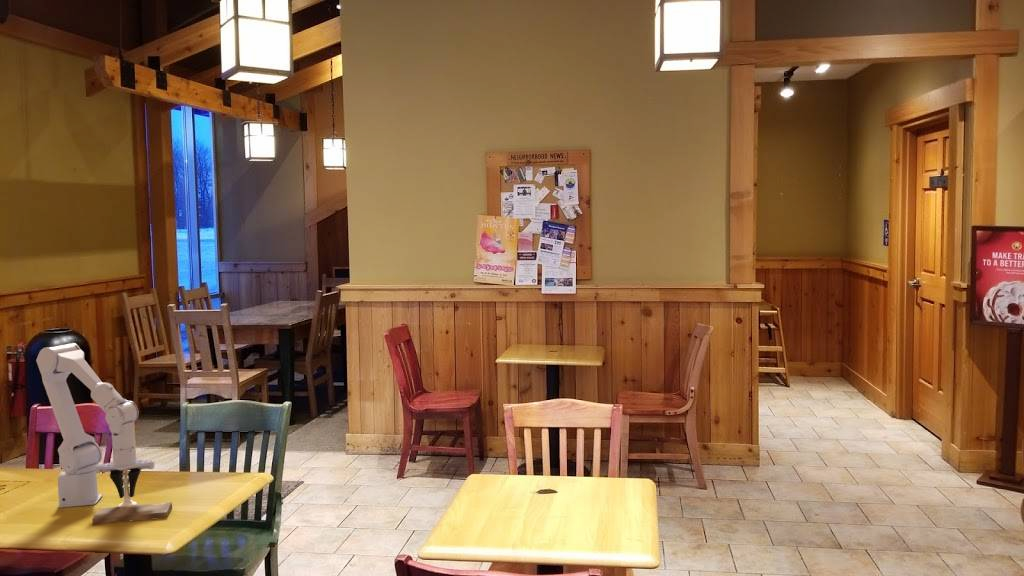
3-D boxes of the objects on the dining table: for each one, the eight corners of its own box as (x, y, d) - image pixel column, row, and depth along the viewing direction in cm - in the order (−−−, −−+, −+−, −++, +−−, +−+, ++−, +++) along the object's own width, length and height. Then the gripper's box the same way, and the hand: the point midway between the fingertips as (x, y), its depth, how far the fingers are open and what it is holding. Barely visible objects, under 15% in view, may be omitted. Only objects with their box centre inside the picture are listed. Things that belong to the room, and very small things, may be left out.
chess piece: (132, 509, 232) (130, 473, 232) (114, 510, 233) (112, 473, 232) (140, 503, 237) (138, 468, 236) (123, 503, 237) (120, 468, 237)
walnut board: (92, 524, 222) (92, 518, 222) (100, 513, 230) (99, 508, 230) (166, 517, 226) (166, 511, 226) (172, 507, 234) (171, 501, 233)
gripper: (91, 453, 228) (94, 503, 229) (149, 449, 231) (152, 498, 232) (98, 446, 235) (101, 495, 236) (154, 442, 238) (157, 490, 239)
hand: (127, 496), depth 235 cm, fingers closed on chess piece
